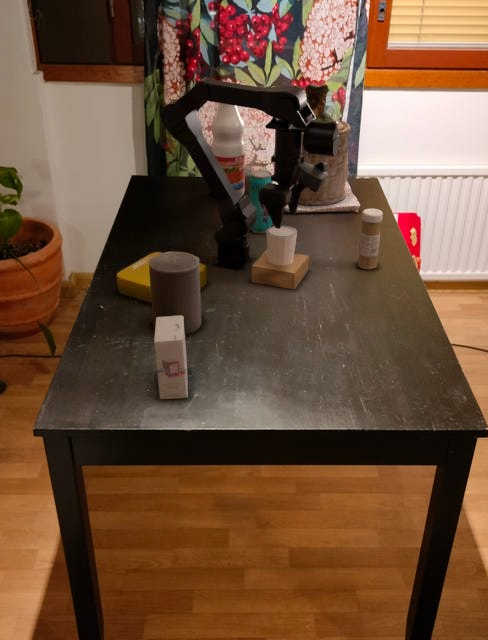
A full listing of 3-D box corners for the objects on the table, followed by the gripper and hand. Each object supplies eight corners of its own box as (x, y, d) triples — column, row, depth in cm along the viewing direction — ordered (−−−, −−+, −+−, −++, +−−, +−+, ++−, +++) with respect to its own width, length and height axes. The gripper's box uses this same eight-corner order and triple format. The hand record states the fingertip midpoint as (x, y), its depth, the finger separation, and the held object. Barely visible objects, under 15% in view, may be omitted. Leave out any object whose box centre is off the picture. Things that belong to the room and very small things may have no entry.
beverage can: (258, 236, 181) (259, 178, 172) (244, 229, 184) (245, 172, 176) (276, 231, 184) (277, 174, 176) (262, 224, 187) (263, 168, 179)
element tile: (156, 267, 165) (155, 248, 162) (210, 282, 159) (210, 263, 156) (114, 292, 154) (112, 272, 151) (170, 310, 148) (169, 289, 145)
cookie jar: (346, 184, 215) (356, 71, 198) (362, 214, 194) (374, 92, 177) (265, 184, 214) (267, 71, 196) (272, 215, 193) (275, 92, 176)
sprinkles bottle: (371, 260, 169) (377, 206, 162) (380, 268, 166) (386, 213, 158) (353, 263, 168) (359, 209, 160) (362, 271, 164) (368, 216, 157)
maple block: (251, 282, 159) (251, 265, 157) (267, 264, 167) (267, 248, 165) (294, 289, 156) (294, 273, 154) (307, 271, 164) (308, 255, 162)
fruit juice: (232, 186, 212) (232, 88, 197) (251, 195, 206) (251, 94, 191) (206, 192, 207) (203, 92, 192) (223, 202, 201) (222, 99, 186)
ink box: (159, 372, 128) (155, 314, 122) (187, 371, 129) (184, 313, 122) (158, 400, 121) (153, 340, 115) (187, 398, 121) (184, 339, 115)
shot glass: (293, 268, 156) (294, 238, 152) (262, 265, 157) (263, 235, 153) (298, 255, 162) (299, 226, 158) (268, 252, 163) (269, 223, 159)
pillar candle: (163, 340, 137) (158, 270, 129) (146, 318, 145) (140, 250, 137) (209, 329, 141) (207, 260, 133) (190, 308, 149) (187, 241, 140)
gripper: (309, 168, 140) (305, 242, 148) (338, 144, 154) (333, 212, 163) (257, 161, 143) (256, 233, 152) (290, 137, 158) (287, 205, 166)
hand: (285, 221), depth 158 cm, fingers open, 9 cm apart
